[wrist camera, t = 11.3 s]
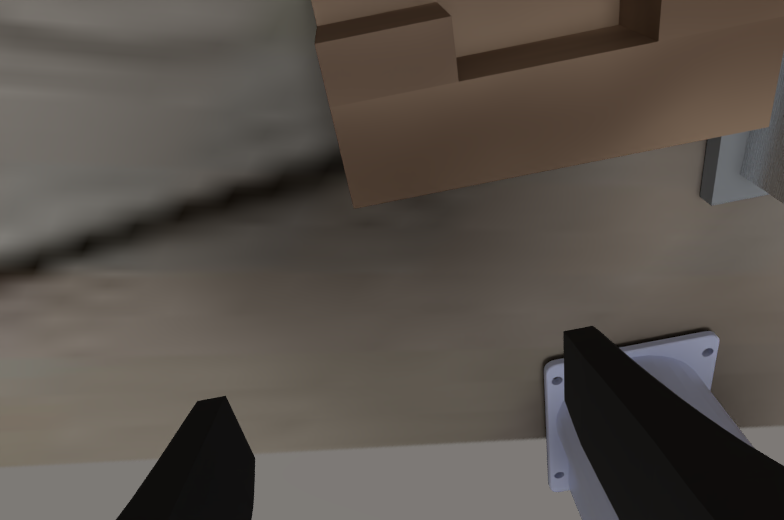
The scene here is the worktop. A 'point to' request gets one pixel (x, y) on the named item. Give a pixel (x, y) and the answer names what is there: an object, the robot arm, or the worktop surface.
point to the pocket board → (535, 84)
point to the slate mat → (726, 171)
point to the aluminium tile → (768, 149)
